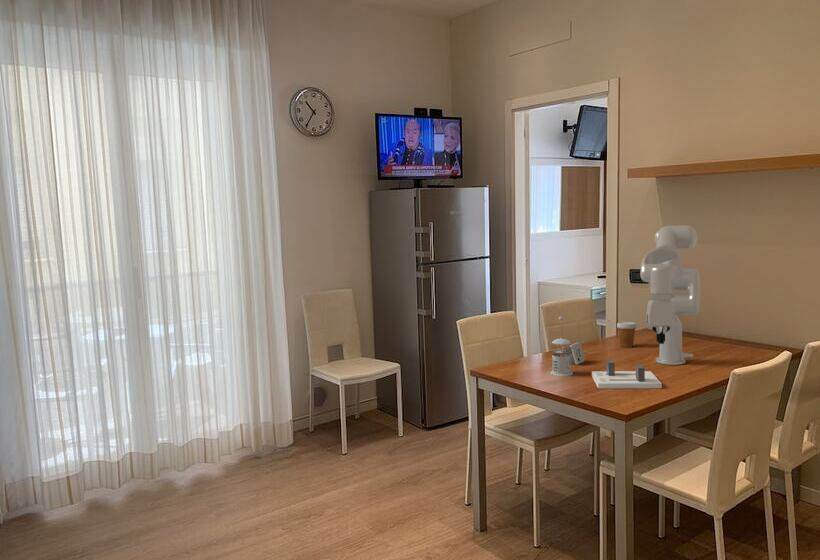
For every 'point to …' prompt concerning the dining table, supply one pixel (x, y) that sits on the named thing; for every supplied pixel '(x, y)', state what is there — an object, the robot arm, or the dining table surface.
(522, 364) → the dining table surface
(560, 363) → the french press
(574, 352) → the electrical switch
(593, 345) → the dining table surface
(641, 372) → the handle
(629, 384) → the white slider control panel
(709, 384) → the dining table surface
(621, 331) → the disposable coffee cup
